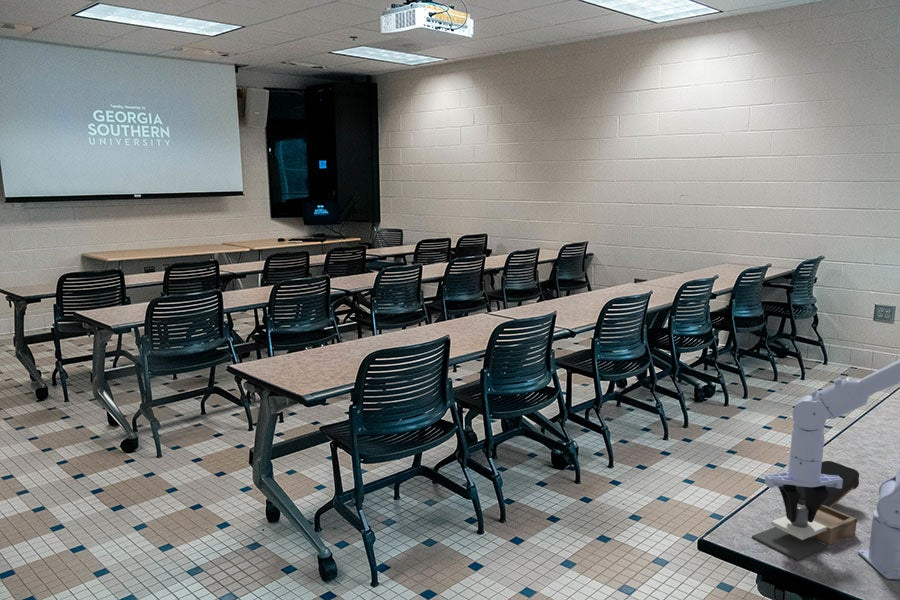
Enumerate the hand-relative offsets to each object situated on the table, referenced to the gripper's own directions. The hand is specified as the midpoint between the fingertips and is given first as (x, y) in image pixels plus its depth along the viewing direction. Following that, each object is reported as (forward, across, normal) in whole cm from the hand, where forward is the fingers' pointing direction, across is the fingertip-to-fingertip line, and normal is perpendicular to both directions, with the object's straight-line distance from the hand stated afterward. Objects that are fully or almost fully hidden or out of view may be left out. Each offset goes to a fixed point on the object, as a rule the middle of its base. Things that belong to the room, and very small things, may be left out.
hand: (799, 519), depth 138 cm
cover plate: (+2, 0, 0) cm, 2 cm away
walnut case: (+4, -7, -4) cm, 9 cm away
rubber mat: (+4, +2, +1) cm, 5 cm away
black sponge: (+2, -14, -16) cm, 21 cm away
